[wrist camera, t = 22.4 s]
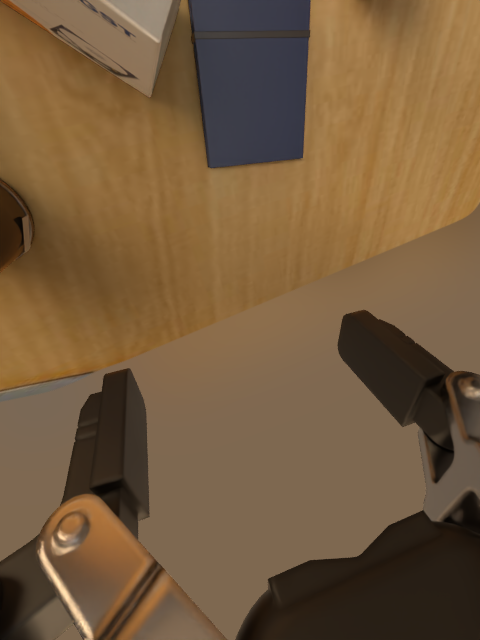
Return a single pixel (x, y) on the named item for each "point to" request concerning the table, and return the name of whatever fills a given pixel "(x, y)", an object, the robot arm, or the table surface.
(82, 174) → the table surface
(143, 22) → the hard drive box
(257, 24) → the notebook
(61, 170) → the table surface
